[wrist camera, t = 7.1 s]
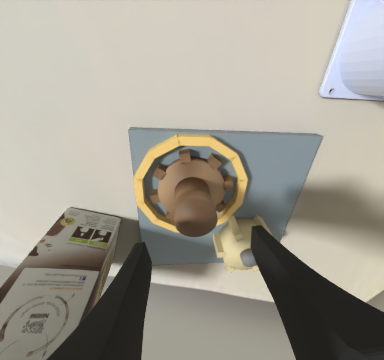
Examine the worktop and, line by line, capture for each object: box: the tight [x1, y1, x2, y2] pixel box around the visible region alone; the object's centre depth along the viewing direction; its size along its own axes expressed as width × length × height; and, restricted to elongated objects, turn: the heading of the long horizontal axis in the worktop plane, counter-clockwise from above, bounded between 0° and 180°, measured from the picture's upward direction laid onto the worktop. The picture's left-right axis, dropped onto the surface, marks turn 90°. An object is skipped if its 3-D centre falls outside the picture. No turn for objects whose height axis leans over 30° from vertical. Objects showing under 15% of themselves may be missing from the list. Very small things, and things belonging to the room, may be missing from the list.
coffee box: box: [0, 208, 121, 360], centre depth 16 cm, size 9×6×16 cm
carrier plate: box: [128, 127, 323, 273], centre depth 20 cm, size 19×19×5 cm
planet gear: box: [150, 149, 233, 237], centre depth 17 cm, size 9×9×6 cm
